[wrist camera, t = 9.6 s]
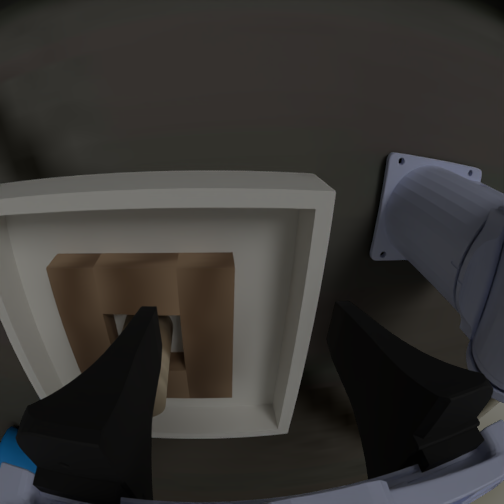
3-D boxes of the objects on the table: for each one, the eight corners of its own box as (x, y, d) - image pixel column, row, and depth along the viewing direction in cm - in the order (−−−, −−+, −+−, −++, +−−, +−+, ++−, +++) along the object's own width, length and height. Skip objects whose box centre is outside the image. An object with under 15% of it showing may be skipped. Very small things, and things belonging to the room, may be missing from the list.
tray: (313, 173, 20) (336, 191, 16) (280, 401, 30) (287, 433, 26) (-3, 184, 17) (-35, 203, 14) (66, 396, 27) (57, 426, 23)
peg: (171, 306, 22) (161, 383, 16) (174, 344, 24) (168, 419, 17) (122, 304, 21) (98, 378, 15) (129, 342, 23) (112, 415, 17)
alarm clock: (47, 460, 34) (32, 539, 21) (12, 444, 32) (-8, 521, 19) (53, 429, 30) (30, 530, 17) (10, 407, 28) (-22, 505, 14)
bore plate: (232, 252, 21) (234, 267, 19) (230, 379, 26) (232, 397, 24) (57, 253, 19) (45, 268, 17) (94, 376, 24) (89, 393, 23)
